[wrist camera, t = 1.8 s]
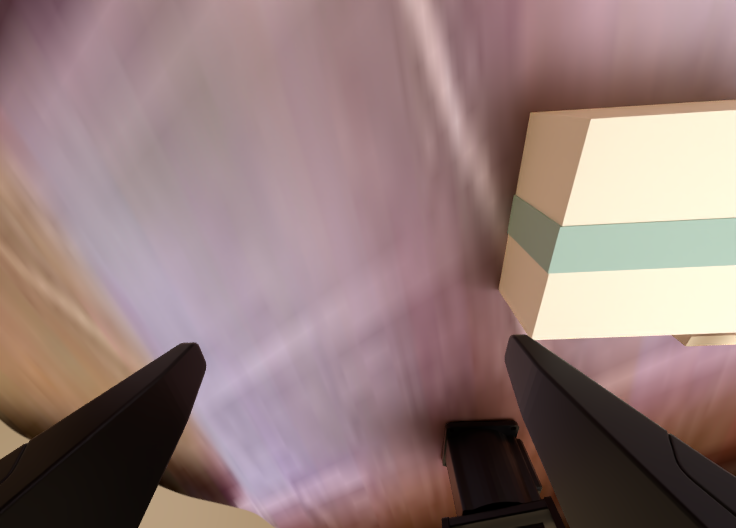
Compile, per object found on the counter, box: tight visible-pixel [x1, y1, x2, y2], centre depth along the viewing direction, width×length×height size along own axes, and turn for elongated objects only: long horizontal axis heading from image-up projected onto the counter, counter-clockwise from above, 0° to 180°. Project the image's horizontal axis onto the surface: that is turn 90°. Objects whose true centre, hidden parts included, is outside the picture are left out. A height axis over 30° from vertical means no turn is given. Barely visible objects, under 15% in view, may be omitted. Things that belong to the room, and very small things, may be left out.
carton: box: [499, 99, 736, 340], centre depth 16 cm, size 11×11×5 cm
